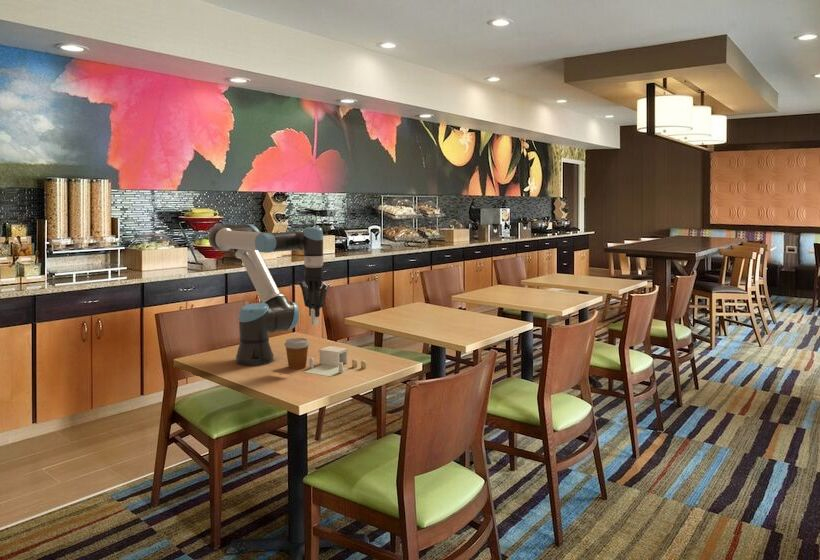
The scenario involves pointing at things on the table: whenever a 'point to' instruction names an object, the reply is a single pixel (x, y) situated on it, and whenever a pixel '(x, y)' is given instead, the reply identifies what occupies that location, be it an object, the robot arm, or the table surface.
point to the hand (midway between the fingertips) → (314, 324)
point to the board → (331, 368)
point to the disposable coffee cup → (297, 352)
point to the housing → (333, 356)
